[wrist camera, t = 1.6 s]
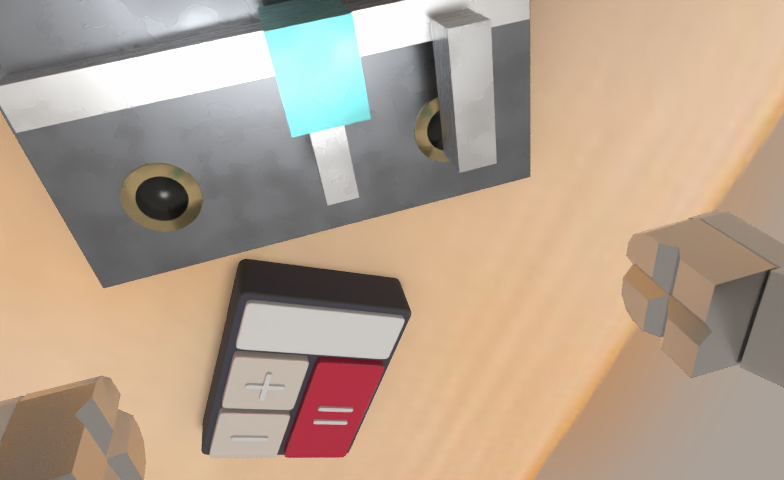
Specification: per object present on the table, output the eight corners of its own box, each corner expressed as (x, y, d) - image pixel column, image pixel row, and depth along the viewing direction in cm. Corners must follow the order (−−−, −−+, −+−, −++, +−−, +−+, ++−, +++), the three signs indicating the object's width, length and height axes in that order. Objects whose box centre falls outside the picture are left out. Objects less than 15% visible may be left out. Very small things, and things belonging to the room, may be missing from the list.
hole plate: (515, -129, 26) (580, -135, 21) (519, 166, 35) (566, 210, 30) (-59, -24, 23) (-135, -2, 18) (108, 273, 32) (86, 340, 27)
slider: (324, -14, 25) (352, 13, 19) (359, 161, 30) (389, 223, 24) (255, 0, 25) (263, 32, 19) (302, 175, 30) (320, 241, 24)
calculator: (199, 465, 38) (240, 300, 30) (202, 414, 41) (239, 255, 34) (349, 464, 42) (417, 318, 34) (341, 418, 45) (400, 277, 38)
